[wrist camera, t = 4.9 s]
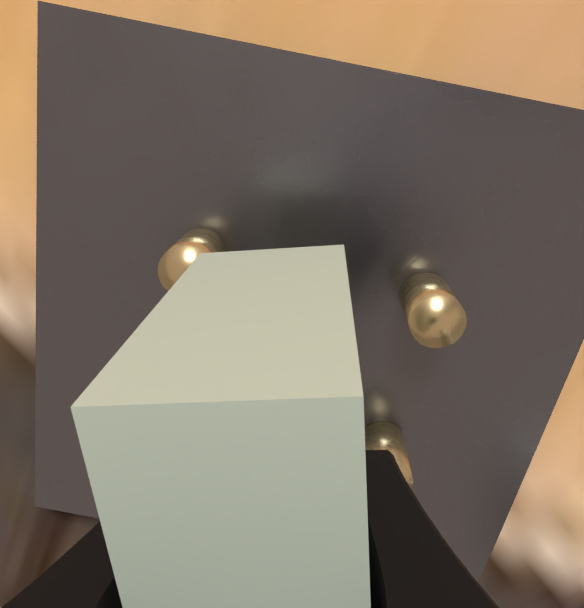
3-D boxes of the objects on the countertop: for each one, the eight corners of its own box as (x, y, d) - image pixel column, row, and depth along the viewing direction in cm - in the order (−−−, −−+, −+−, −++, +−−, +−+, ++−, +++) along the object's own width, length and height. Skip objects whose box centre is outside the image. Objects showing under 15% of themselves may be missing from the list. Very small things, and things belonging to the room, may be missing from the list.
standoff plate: (651, 126, 14) (732, 132, 11) (468, 567, 20) (491, 644, 17) (57, 7, 14) (-11, -17, 11) (48, 487, 20) (2, 551, 17)
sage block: (343, 244, 11) (363, 396, 5) (357, 546, 14) (379, 857, 8) (200, 253, 11) (70, 406, 5) (242, 547, 14) (185, 850, 8)
